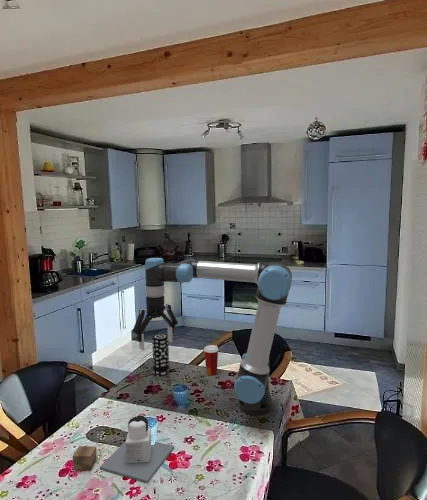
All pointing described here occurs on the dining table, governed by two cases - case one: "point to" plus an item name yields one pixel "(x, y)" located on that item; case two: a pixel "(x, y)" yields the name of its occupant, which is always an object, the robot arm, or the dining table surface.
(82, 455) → the walnut block
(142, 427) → the container
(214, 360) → the paper cup
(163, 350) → the white-spotted black cylinder
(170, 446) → the slate plate
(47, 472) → the dining table surface
